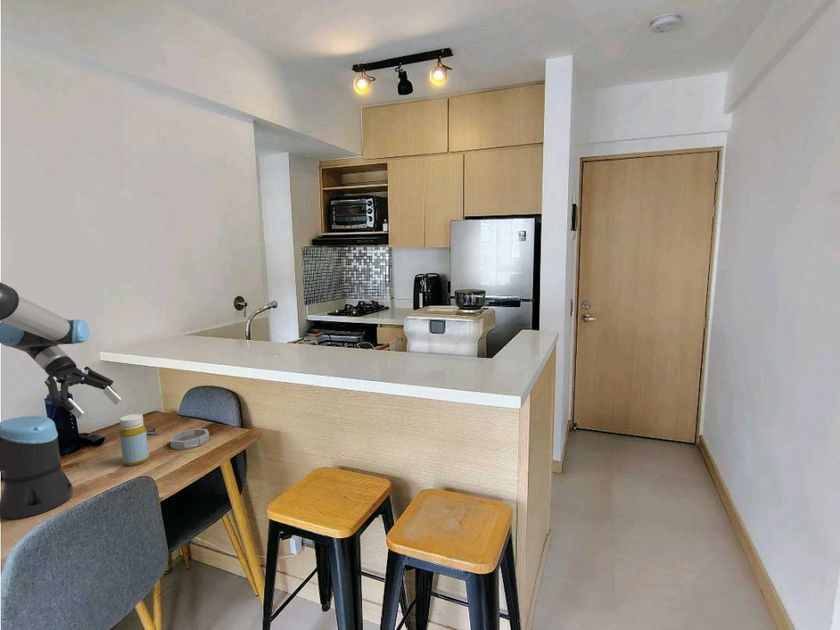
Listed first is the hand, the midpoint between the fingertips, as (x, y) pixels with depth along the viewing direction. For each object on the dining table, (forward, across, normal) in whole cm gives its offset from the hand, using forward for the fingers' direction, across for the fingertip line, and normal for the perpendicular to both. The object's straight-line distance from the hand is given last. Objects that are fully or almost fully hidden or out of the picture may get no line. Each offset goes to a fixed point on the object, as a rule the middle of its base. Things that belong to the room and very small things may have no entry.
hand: (100, 408), depth 143 cm
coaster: (+26, -15, +1) cm, 30 cm away
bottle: (+21, 0, -4) cm, 21 cm away
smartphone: (+11, -28, -14) cm, 33 cm away
